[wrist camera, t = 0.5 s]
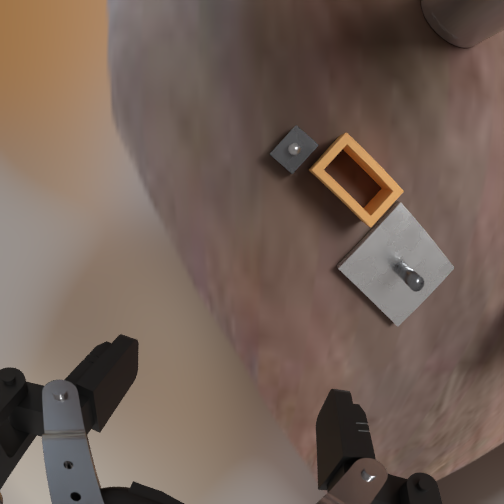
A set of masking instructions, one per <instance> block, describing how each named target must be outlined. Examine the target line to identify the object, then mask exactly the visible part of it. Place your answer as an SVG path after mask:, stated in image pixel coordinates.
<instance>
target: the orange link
mask: <svg viewBox="0 0 504 504" xmlns="http://www.w3.org/2000/svg"><path fill="white" fill-rule="evenodd" d="M342 149H343V150H344V151H345V152H346V153H347V154H348V155H349V156H350V157H351V158H352V159H353V160H354V161H355V162H356V163H357V164H358V165H359V166H360V167H361V168H362V169H363V170H364V171H365V172H366V173H367V174H368V175H369V176H370V177H371V178H372V179H373V180H374V181H375V182H376V183H377V184H378V185H379V186H380V187H381V190H380V191H379V192H378V193H377V194H376V195H375V196H374V197H373V198H372V199H371V201H370V202H369V203H368V204H367V205H366V206H365V207H364V208H362V207H361V206H360V205H359V204H358V203H357V202H356V201H355V200H354V199H353V198H352V197H351V196H350V195H349V194H348V193H347V192H346V191H345V190H344V189H343V188H342V187H341V186H340V185H339V184H338V183H337V182H336V181H335V180H334V179H333V178H332V177H331V176H330V175H329V174H328V173H326V172H325V171H324V169H325V168H326V167H327V165H328V164H329V163H330V162H331V161H332V160H333V159H334V158H335V157H336V156H337V155H338V153H339V152H340V151H341V150H342ZM309 171H310V172H311V173H312V174H313V175H314V176H316V177H317V178H318V179H319V180H320V181H321V182H322V183H323V184H324V185H325V186H326V187H327V188H328V189H329V190H330V191H332V192H333V193H334V194H335V195H336V196H337V197H338V198H339V199H340V200H341V201H342V202H343V203H344V204H345V205H346V206H347V207H348V208H349V209H350V210H351V211H352V212H353V213H354V214H355V215H356V216H357V217H358V218H359V219H360V220H361V221H362V222H364V223H365V224H366V225H368V226H369V227H372V226H373V225H374V224H375V223H376V222H377V220H378V219H379V218H380V217H381V216H382V215H383V214H384V213H385V212H386V211H387V210H388V208H389V207H390V206H391V205H392V204H393V203H394V202H395V201H396V200H397V198H398V197H399V196H400V195H401V194H402V193H403V192H404V191H403V190H402V189H401V188H400V187H399V185H398V184H397V183H396V182H395V181H394V180H393V179H392V178H391V177H390V176H389V175H388V174H387V172H386V171H385V170H384V169H383V168H382V167H381V166H380V165H379V164H378V163H377V162H376V161H375V160H374V159H373V158H372V157H371V156H370V155H369V154H368V153H367V152H366V151H365V150H364V149H363V148H362V147H361V146H360V145H359V144H358V143H357V142H356V141H355V140H354V139H353V138H352V137H351V136H350V135H349V134H347V133H344V134H343V135H341V136H339V137H338V138H337V139H336V140H335V141H334V142H333V144H332V145H331V146H330V147H329V148H328V149H327V150H326V151H325V152H324V153H323V154H322V155H321V157H320V158H319V159H318V160H317V161H316V162H315V163H314V164H313V165H312V166H311V167H310V168H309Z"/></svg>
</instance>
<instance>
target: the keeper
mask: <svg viewBox="0 0 504 504" xmlns="http://www.w3.org/2000/svg"><path fill="white" fill-rule="evenodd" d="M337 267H338V269H339V270H340V271H341V272H342V273H343V274H344V275H345V276H346V277H347V278H348V279H350V280H351V281H352V282H353V283H354V284H355V285H356V286H357V287H358V288H359V289H360V290H361V291H362V292H363V293H364V294H365V295H366V296H367V297H368V298H369V299H370V300H371V301H372V302H373V303H374V304H375V305H376V306H377V307H378V308H379V309H380V310H381V311H382V312H383V313H384V314H385V315H386V316H387V317H389V318H390V319H391V320H392V321H393V322H394V323H395V324H396V325H397V326H399V325H400V324H401V323H402V322H403V321H404V320H405V319H406V318H407V317H408V316H409V315H410V314H411V313H412V312H413V311H414V310H415V309H416V308H417V307H418V306H419V305H420V304H421V303H422V302H423V301H424V300H425V299H426V298H427V297H428V296H429V295H430V294H431V293H432V292H433V291H434V290H435V289H436V288H437V287H438V286H439V284H440V283H441V282H442V281H443V280H444V279H445V278H446V277H447V276H448V275H449V273H450V272H451V271H452V270H453V269H454V267H453V265H452V264H451V263H450V261H449V260H448V259H447V257H446V256H445V255H444V254H443V252H442V251H441V250H440V248H439V247H438V246H437V245H436V243H435V242H434V241H433V240H432V238H431V237H430V236H429V235H428V234H427V232H426V231H425V230H424V229H423V228H422V226H421V225H420V224H419V223H418V222H417V220H416V219H415V218H414V217H413V216H412V215H411V214H410V212H409V211H408V210H407V209H406V208H405V207H404V206H403V204H402V203H401V202H398V201H397V202H396V203H395V204H394V205H393V206H392V207H391V208H390V209H389V210H388V212H387V213H386V214H385V215H384V216H383V217H382V218H381V219H380V220H379V221H378V222H377V224H376V225H375V226H374V227H373V228H372V229H371V230H370V231H369V232H368V233H367V234H366V235H365V236H364V237H363V238H362V240H361V241H360V242H359V243H358V244H357V245H356V246H355V247H354V248H353V249H352V250H351V251H350V252H349V253H348V254H347V255H346V256H345V257H344V258H343V259H342V260H341V261H340V262H339V263H338V264H337Z"/></svg>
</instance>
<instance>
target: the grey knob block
mask: <svg viewBox="0 0 504 504" xmlns="http://www.w3.org/2000/svg"><path fill="white" fill-rule="evenodd" d="M318 146H319V145H318V144H317V143H316V142H315V141H314V140H313V139H312V138H310V137H309V136H308V135H307V134H306V133H305V132H304V131H302V130H301V129H300V128H299V127H298V126H297V125H296V126H295V127H294V128H293V129H292V130H291V131H290V132H289V133H288V134H287V135H286V137H285V138H284V139H283V140H282V141H281V142H280V143H279V144H278V145H277V146H276V148H275V149H274V150H273V151H272V152H271V153H270V155H271V156H272V157H273V158H274V159H276V160H277V161H278V162H279V163H280V164H281V165H282V166H284V167H285V168H286V169H287V170H288V171H289V172H290V173H291V174H293V173H294V172H295V171H296V169H297V168H298V167H299V166H300V165H301V164H302V163H303V162H304V161H305V160H306V159H307V157H308V156H309V155H310V154H311V153H312V152H313V151H314V150H315V149H316V148H317V147H318Z"/></svg>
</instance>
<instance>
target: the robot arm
mask: <svg viewBox="0 0 504 504" xmlns="http://www.w3.org/2000/svg"><path fill="white" fill-rule="evenodd" d="M421 7H422V11H423V14H424V16H425V18H426V20H427V22H428V23H429V24H430V26H431V27H432V28H433V29H434V30H435V32H436V33H437V34H438V35H440V36H441V37H442V38H443V39H445V40H446V41H448V42H449V43H451V44H453V45H455V46H458V47H462V48H469V47H473V46H475V45H477V44H478V43H480V42H482V41H484V40H486V39H488V38H490V37H492V36H493V35H495V34H497V33H499V32H501V31H503V30H504V0H421ZM137 371H138V341H137V340H136V339H133V338H130V337H127V336H125V335H119V336H118V337H117V338H116V339H115V340H114V341H113V343H109V342H104V343H102V344H100V345H98V346H96V347H95V348H94V349H93V351H91V352H90V354H89V355H87V356H86V358H85V359H84V360H83V361H82V362H81V363H80V364H79V365H78V366H77V367H76V368H75V369H74V370H73V371H72V372H71V373H70V375H69V376H68V377H67V378H66V379H65V380H53V381H51V382H49V383H47V384H46V385H45V386H43V385H38V384H34V383H30V382H26V379H25V376H24V374H23V373H22V372H21V371H20V370H18V369H16V368H3V369H1V370H0V489H1V488H2V486H3V485H4V483H5V481H6V480H7V478H8V477H9V475H10V474H11V472H12V471H13V469H14V468H15V466H16V465H17V463H18V462H19V460H20V459H21V457H22V456H23V454H24V453H25V451H26V450H27V449H28V447H29V446H30V444H31V443H32V441H33V440H34V439H35V437H36V436H37V435H38V436H42V444H43V453H44V460H45V467H46V473H47V480H48V486H49V491H50V496H51V501H52V504H184V503H182V502H180V501H178V500H176V499H174V498H173V497H171V496H169V495H167V494H165V493H164V492H162V491H159V490H155V489H153V488H150V487H147V486H144V485H141V484H139V483H136V482H133V483H132V485H131V487H130V488H127V487H107V488H101V486H100V483H99V479H98V476H97V473H96V469H95V465H94V462H93V458H92V454H91V450H90V445H89V441H88V437H87V434H88V432H89V431H90V430H91V429H93V430H96V431H97V432H101V430H102V429H103V427H104V426H105V424H106V423H107V421H108V419H109V418H110V417H111V415H112V414H113V412H114V411H115V409H116V408H117V406H118V405H119V403H120V401H121V400H122V398H123V397H124V396H125V394H126V393H127V391H128V390H129V388H130V386H131V385H132V384H133V382H134V380H135V378H136V375H137ZM367 423H368V422H367V418H366V414H365V412H364V411H363V409H362V408H361V407H360V405H359V404H353V402H352V397H351V393H350V391H344V390H338V389H331V390H330V392H329V394H328V396H327V398H326V400H325V402H324V404H323V406H322V408H321V410H320V412H319V415H318V418H317V422H316V441H317V466H318V489H319V490H327V491H328V493H327V494H326V495H325V496H324V497H323V498H322V499H321V500H320V501H319V502H318V503H317V504H442V501H441V497H440V493H439V489H438V485H437V483H436V481H435V479H434V478H433V477H431V476H430V475H428V474H425V473H415V474H413V475H411V476H410V477H409V478H408V479H404V478H400V477H397V476H393V475H390V474H388V473H387V470H386V468H385V466H384V465H383V464H382V463H380V462H379V461H377V460H376V459H375V454H374V449H373V445H372V440H371V435H370V432H369V426H368V425H367ZM0 504H3V498H2V495H1V493H0Z"/></svg>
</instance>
